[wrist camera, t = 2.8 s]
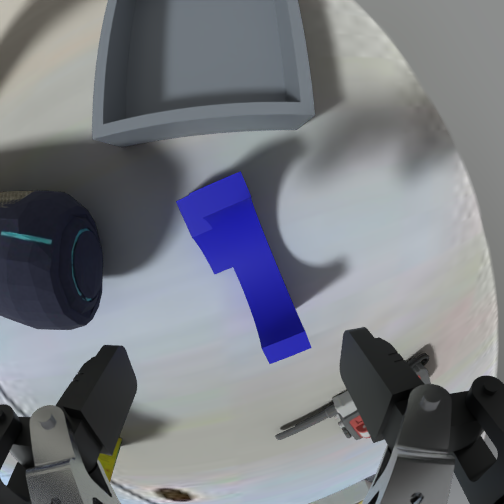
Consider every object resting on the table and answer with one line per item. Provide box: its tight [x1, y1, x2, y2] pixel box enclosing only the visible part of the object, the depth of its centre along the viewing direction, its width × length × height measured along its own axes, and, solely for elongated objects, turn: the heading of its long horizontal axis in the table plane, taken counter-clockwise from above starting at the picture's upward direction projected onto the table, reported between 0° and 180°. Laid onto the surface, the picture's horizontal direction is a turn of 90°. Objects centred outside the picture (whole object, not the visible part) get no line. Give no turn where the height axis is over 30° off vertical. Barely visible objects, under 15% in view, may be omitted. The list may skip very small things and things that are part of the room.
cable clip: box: [176, 171, 311, 364], centre depth 18 cm, size 12×4×6 cm, turn 23°
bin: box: [92, 0, 315, 147], centre depth 14 cm, size 14×18×5 cm
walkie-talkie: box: [275, 353, 431, 440], centre depth 25 cm, size 9×4×20 cm
